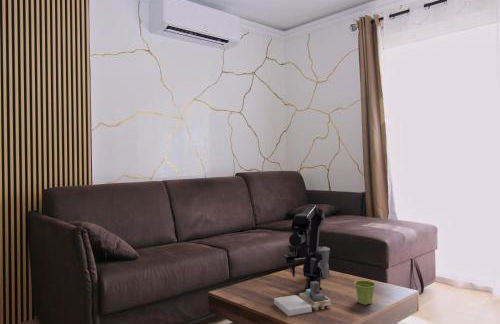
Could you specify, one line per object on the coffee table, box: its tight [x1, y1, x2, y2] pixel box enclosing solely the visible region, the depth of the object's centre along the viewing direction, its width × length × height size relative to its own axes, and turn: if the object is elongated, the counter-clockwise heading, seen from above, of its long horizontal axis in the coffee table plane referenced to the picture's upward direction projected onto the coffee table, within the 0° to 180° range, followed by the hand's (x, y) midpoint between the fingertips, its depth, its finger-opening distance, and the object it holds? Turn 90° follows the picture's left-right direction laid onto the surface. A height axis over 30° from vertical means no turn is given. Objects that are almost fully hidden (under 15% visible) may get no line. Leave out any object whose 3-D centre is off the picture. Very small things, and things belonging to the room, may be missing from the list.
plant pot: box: [354, 279, 377, 305], centre depth 184 cm, size 9×9×9 cm
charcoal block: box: [313, 292, 326, 302], centre depth 180 cm, size 4×3×3 cm
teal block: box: [305, 288, 311, 298], centre depth 186 cm, size 4×3×3 cm
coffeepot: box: [318, 242, 331, 279], centre depth 224 cm, size 15×9×18 cm, turn 147°
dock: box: [273, 294, 313, 317], centre depth 179 cm, size 11×15×2 cm
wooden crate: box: [298, 281, 333, 311], centre depth 183 cm, size 9×13×10 cm
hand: (302, 275), depth 187 cm, fingers open, 9 cm apart
